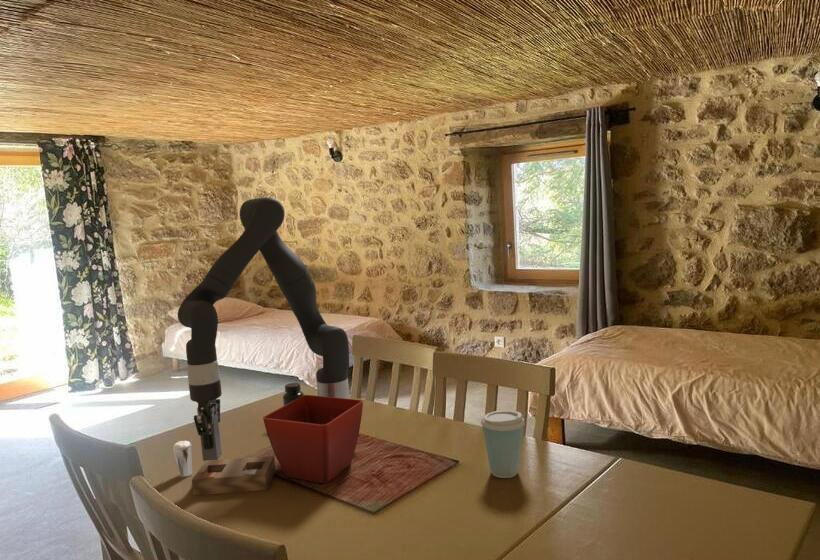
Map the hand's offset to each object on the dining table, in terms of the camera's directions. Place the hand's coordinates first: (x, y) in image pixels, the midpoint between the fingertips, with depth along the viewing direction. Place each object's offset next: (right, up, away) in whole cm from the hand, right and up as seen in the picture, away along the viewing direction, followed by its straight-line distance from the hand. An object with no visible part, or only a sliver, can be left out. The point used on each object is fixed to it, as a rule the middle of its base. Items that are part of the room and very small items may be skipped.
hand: (211, 445), depth 154 cm
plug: (0, -3, 0) cm, 3 cm away
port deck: (+6, -10, +1) cm, 11 cm away
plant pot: (+27, -8, +5) cm, 28 cm away
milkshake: (-9, -10, +8) cm, 16 cm away
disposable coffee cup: (+74, -6, -4) cm, 74 cm away
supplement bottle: (+13, -4, +44) cm, 46 cm away
